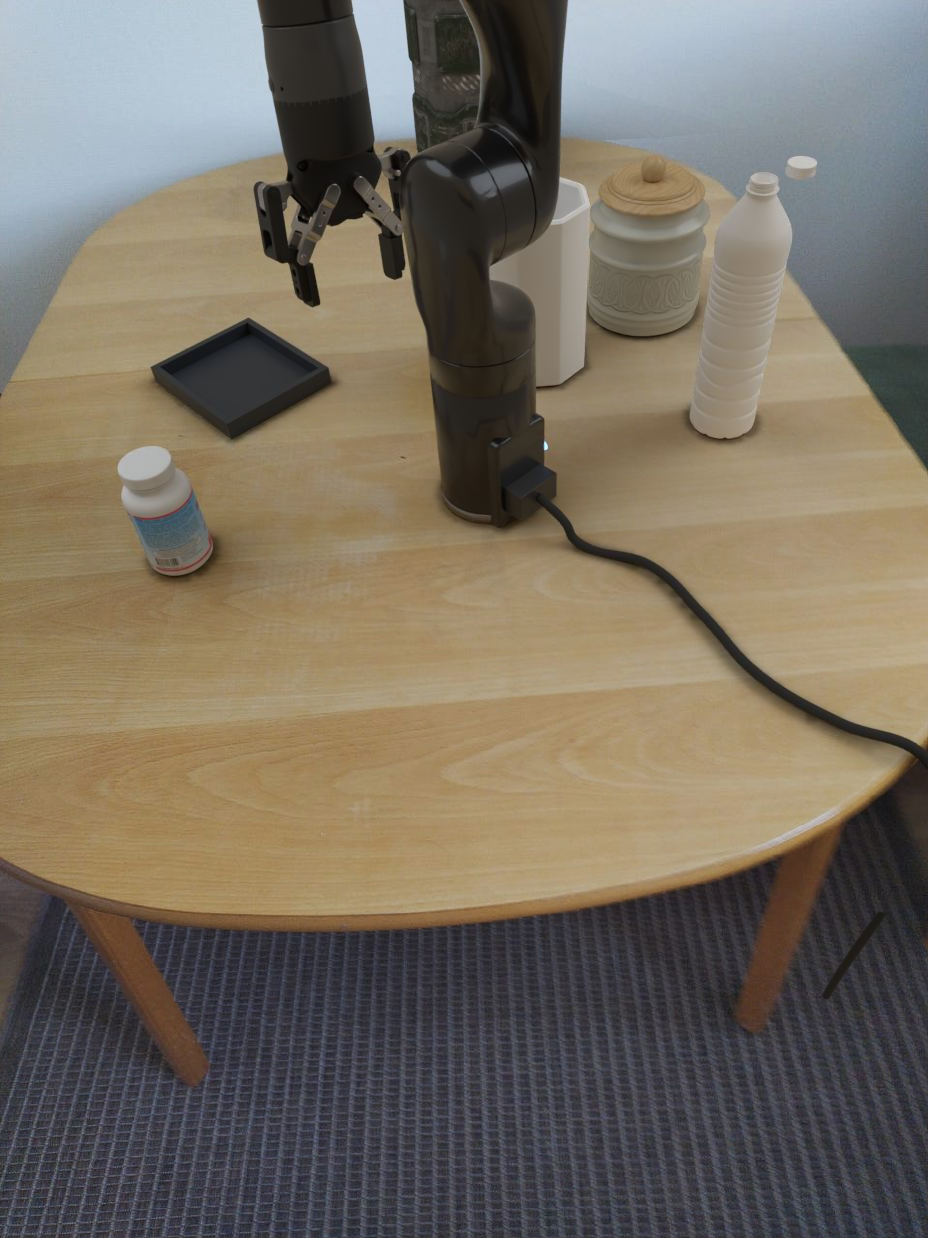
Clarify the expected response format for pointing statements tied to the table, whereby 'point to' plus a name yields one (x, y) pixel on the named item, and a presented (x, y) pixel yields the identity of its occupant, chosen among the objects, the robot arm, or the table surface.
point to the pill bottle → (164, 511)
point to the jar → (647, 248)
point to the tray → (241, 376)
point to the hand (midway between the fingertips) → (353, 290)
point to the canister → (442, 70)
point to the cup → (556, 285)
